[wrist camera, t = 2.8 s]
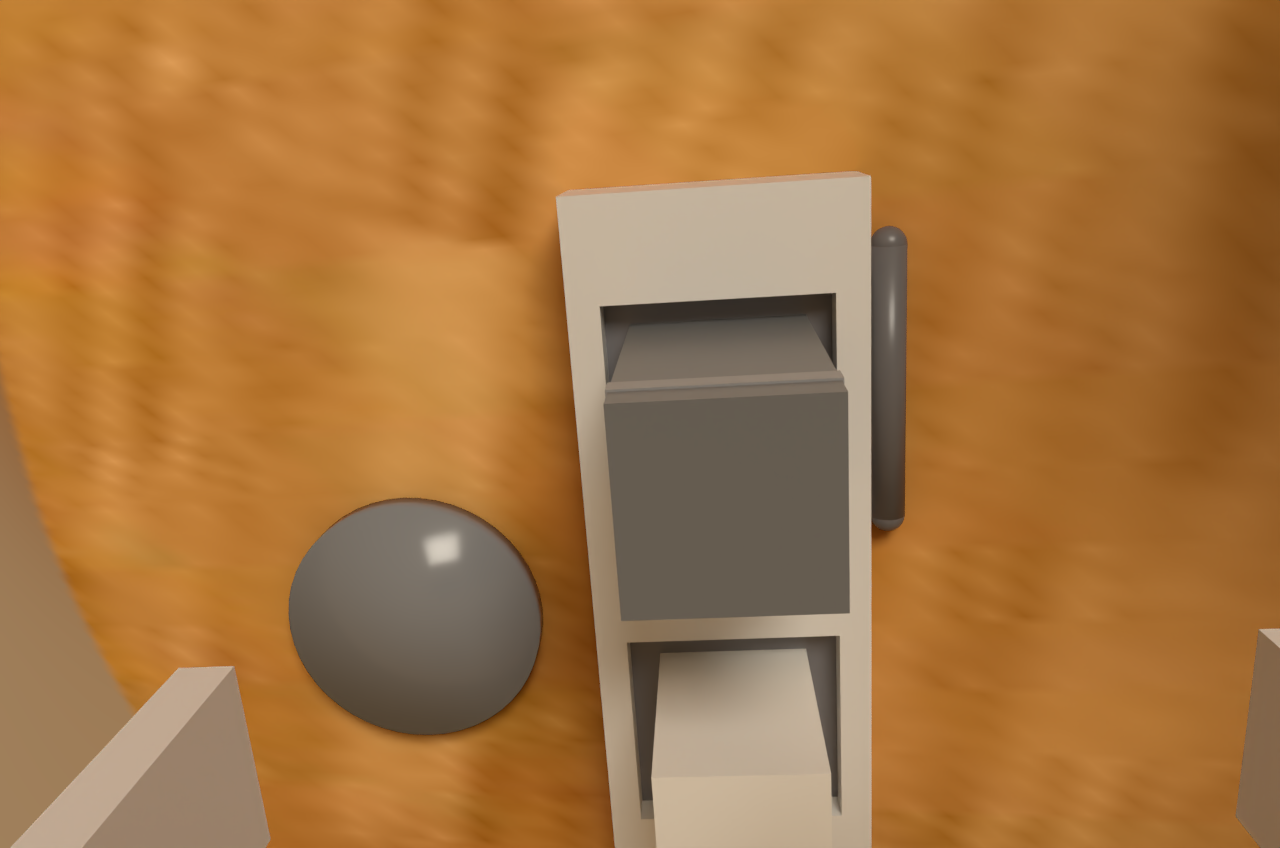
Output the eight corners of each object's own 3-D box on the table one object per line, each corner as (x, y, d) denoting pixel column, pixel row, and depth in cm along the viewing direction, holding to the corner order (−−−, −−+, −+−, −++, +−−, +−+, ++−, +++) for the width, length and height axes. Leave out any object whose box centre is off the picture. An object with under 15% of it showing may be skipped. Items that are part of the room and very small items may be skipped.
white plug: (660, 653, 30) (651, 777, 25) (805, 648, 30) (831, 773, 24) (668, 776, 32) (661, 921, 26) (808, 772, 31) (833, 919, 26)
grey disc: (278, 503, 31) (268, 512, 31) (529, 492, 31) (525, 501, 30) (319, 723, 34) (311, 737, 33) (554, 717, 33) (550, 731, 32)
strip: (568, 189, 28) (552, 198, 25) (904, 167, 27) (929, 173, 24) (624, 841, 34) (617, 910, 31) (898, 837, 34) (917, 906, 31)
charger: (628, 322, 27) (600, 401, 20) (808, 312, 27) (850, 389, 19) (640, 488, 29) (618, 623, 21) (811, 481, 28) (852, 615, 21)
